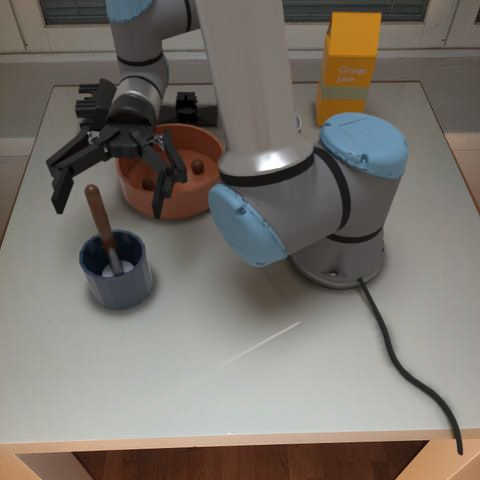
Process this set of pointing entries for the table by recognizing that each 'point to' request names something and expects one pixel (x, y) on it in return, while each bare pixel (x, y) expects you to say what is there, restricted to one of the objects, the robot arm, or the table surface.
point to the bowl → (183, 195)
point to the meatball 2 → (197, 165)
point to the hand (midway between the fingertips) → (105, 209)
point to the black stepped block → (188, 112)
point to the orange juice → (347, 63)
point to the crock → (123, 286)
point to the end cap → (95, 104)
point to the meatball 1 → (148, 184)
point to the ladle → (105, 233)
